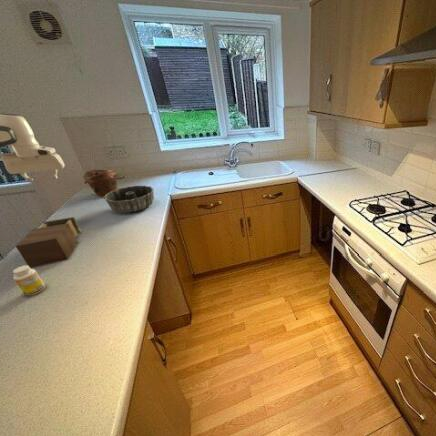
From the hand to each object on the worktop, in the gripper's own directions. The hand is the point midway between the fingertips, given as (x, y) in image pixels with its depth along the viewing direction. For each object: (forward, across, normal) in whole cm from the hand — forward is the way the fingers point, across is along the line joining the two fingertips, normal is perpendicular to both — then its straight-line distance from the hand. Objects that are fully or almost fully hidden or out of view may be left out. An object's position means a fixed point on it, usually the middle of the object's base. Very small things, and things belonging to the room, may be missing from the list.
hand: (43, 180), depth 117 cm
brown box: (+27, +3, -28) cm, 39 cm away
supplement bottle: (+27, +5, -54) cm, 61 cm away
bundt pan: (+27, +30, +15) cm, 43 cm away
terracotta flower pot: (+27, +9, +51) cm, 59 cm away
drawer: (+26, +3, -15) cm, 30 cm away
